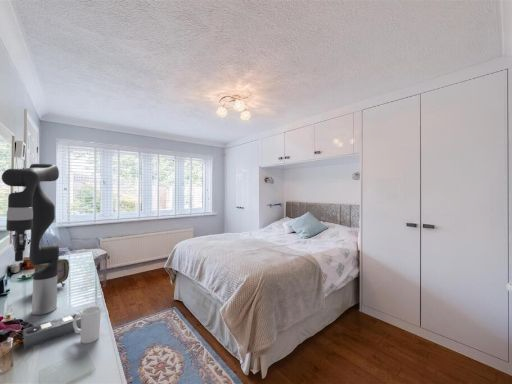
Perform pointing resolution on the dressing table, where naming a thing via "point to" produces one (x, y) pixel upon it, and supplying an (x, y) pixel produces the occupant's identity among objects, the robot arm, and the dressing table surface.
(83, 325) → the mug
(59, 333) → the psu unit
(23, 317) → the dressing table surface
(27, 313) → the dressing table surface
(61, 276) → the tabletop clock
